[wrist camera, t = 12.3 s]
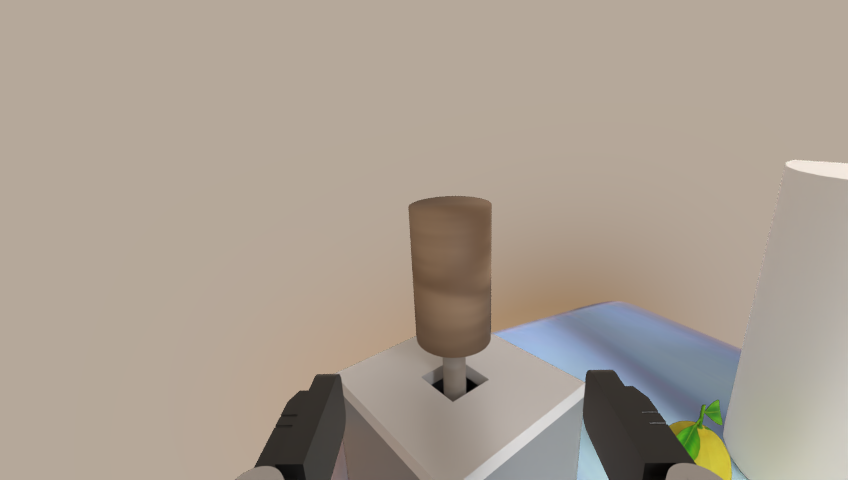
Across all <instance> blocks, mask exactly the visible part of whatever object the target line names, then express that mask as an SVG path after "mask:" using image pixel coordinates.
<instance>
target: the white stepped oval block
mask: <svg viewBox="0 0 848 480" xmlns="http://www.w3.org/2000/svg"><path fill="white" fill-rule="evenodd" d="M723 438H724V441H725V444H726V447H727V450H728V453H729V455H730V456H731V458H732V459H733V461H734V462H735V463H736V465H737V466H738V468H739V469H740V471H741V472H742V473H743V474H744V475H745V476H746V477H747V478H748V479H749V480H848V163H833V162H819V161H803V160H792V161H789V162H786V163H785V168H784V172H783V176H782V180H781V185H780V189H779V193H778V198H777V202H776V206H775V210H774V215H773V219H772V223H771V227H770V232H769V236H768V240H767V244H766V249H765V253H764V257H763V262H762V266H761V270H760V275H759V278H758V283H757V287H756V291H755V296H754V300H753V304H752V308H751V313H750V317H749V321H748V325H747V330H746V334H745V338H744V343H743V347H742V351H741V355H740V359H739V364H738V368H737V372H736V377H735V381H734V385H733V389H732V394H731V398H730V402H729V406H728V411H727V415H726V419H725V424H724V431H723Z"/></svg>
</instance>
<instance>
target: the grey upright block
mask: <svg viewBox="0 0 848 480" xmlns="http://www.w3.org/2000/svg"><path fill="white" fill-rule="evenodd" d="M335 374H340V376H341V380H342V387H343V395H344V403H345V410H346V424H345V431H344V435H343V443H344V450H345V457H346V465H347V472H348V479H349V480H577V469H578V458H579V448H580V437H581V426H582V416H583V402H584V391H585V382H583V381H581V380H579V379H577V378H575V377H574V376H572V375H570V374H568V373H566V372H564V371H562V370H560V369H558V368H557V367H555V366H553V365H551V364H549V363H547V362H545V361H543V360H541V359H540V358H538V357H536V356H534V355H532V354H530V353H528V352H526V351H524V350H523V349H521V348H519V347H517V346H515V345H513V344H511V343H509V342H507V341H505V340H504V339H502V338H500V337H498V336H496V335H494V334H492V333H491V340H490V343H489V345H488V346H487V347H486V348H485V349H484V350H482V351H481V352H479V353H477V354H474V355H471V356H467V357H466V394H465V395H464V396H462V397H460V398H459V399H457V400H455V401H454V402H452V401H451V400H450V399H448V398H447V397H446V396H444V382H443V357H440V356H436V355H433V354H430V353H428V352H426V351H425V350H423V349H422V348H421V347H420V346H419V344H418V342H417V336H415V337H412V338H410V339H408V340H406V341H404V342H402V343H400V344H397V345H395V346H393V347H391V348H389V349H387V350H385V351H382V352H380V353H378V354H376V355H374V356H371V357H369V358H367V359H365V360H363V361H361V362H358V363H356V364H354V365H352V366H350V367H348V368H345V369H343V370H341V371H339V372H337V373H335Z"/></svg>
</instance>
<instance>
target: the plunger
mask: <svg viewBox="0 0 848 480" xmlns="http://www.w3.org/2000/svg"><path fill="white" fill-rule="evenodd" d="M409 221H410V238H411V255H412V271H413V287H414V304H415V320H416V336H417V342H418V344H419V346H420V347H421V348H422V349H423V350H425V351H426V352H428V353H430V354H433V355H436V356H440V357H443V382H444V396H446V397H447V398H448V399H450V400H451V401H452V402H454V401H455V400H457V399H459V398H460V397H462V396H464V395H465V394H466V357H467V356H471V355H474V354H477V353H479V352H481V351H482V350H484V349H485V348H486V347H487V346H488V345H489V343H490V340H491V203H490V202H489V201H487V200H484V199H480V198H475V197H465V196H445V197H435V198H428V199H423V200H419V201H417V202H414V203H412V204H410V205H409Z"/></svg>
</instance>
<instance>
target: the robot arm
mask: <svg viewBox="0 0 848 480" xmlns="http://www.w3.org/2000/svg"><path fill="white" fill-rule="evenodd" d="M583 419H584V424H585V428H586V430H587V433H588V435H589V437H590V439H591V441H592V444H593V446H594V448H595V450H596V452H597V455H598V457H599V459H600V461H601V463H602V465H603V468H604V470H605V472H606V474H607V476H608V478H609V480H723V479H722V478H721V477H720V476H718V475H717V474H715V473H714V472H712V471H710V470H708V469H706V468H704V467H701V466H699V465H697V464H696V463H695V462H694V460H693V459H692V457H691V456H690V455H689V453H688V452H687V451H686V449H685V448H684V446H683V445H682V444H681V442H680V441H679V440H678V438H677V437H676V435H675V434H674V433H673V431H672V430H671V428H670V427H669V426H668V425H666V422H665V420H664V419H663V417H662V416H661V415H660V413H658V411H657V409H656V408H655V406H654V405H653V404H652V402H651V401H650V399H649V398H648V397H647V396H645V395H644V394H643V393H641V392H640V391H639V390H637V389H636V388H635V387H633V386H624V384H623V383H622V381H621V380H620V378H619V377H618V375H617V374H616V373H615V371H614V370H588V371H587V374H586V381H585V391H584V402H583ZM345 424H346V410H345V403H344V395H343V387H342V380H341V376H340V374H317V375H316V376H315V378H314V380H313V382H312V385H311V387H310V389H309V391H299V392H298V393H297V394H296V395H295V396H294V397H293V398H291V399H290V400H289V401H288V403H287V404H286V406H285V408H284V410H283V412H282V414H281V417H280V418H279V420H278V422H277V424H276V428H274V430H273V432H272V434H271V436H270V438H269V439H268V441H267V443H266V446H265V447H264V449H263V451H262V453H261V455H260V457H259V459H258V461H257V463H256V465H255V467H254V468H253V469H251V470H248V471H247V472H245V473H243V474H242V475H240V476H239V477H238V478H237V479H235V480H331V476H332V473H333V469H334V466H335V462H336V459H337V455H338V452H339V449H340V445H341V442H342V438H343V435H344V431H345Z"/></svg>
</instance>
